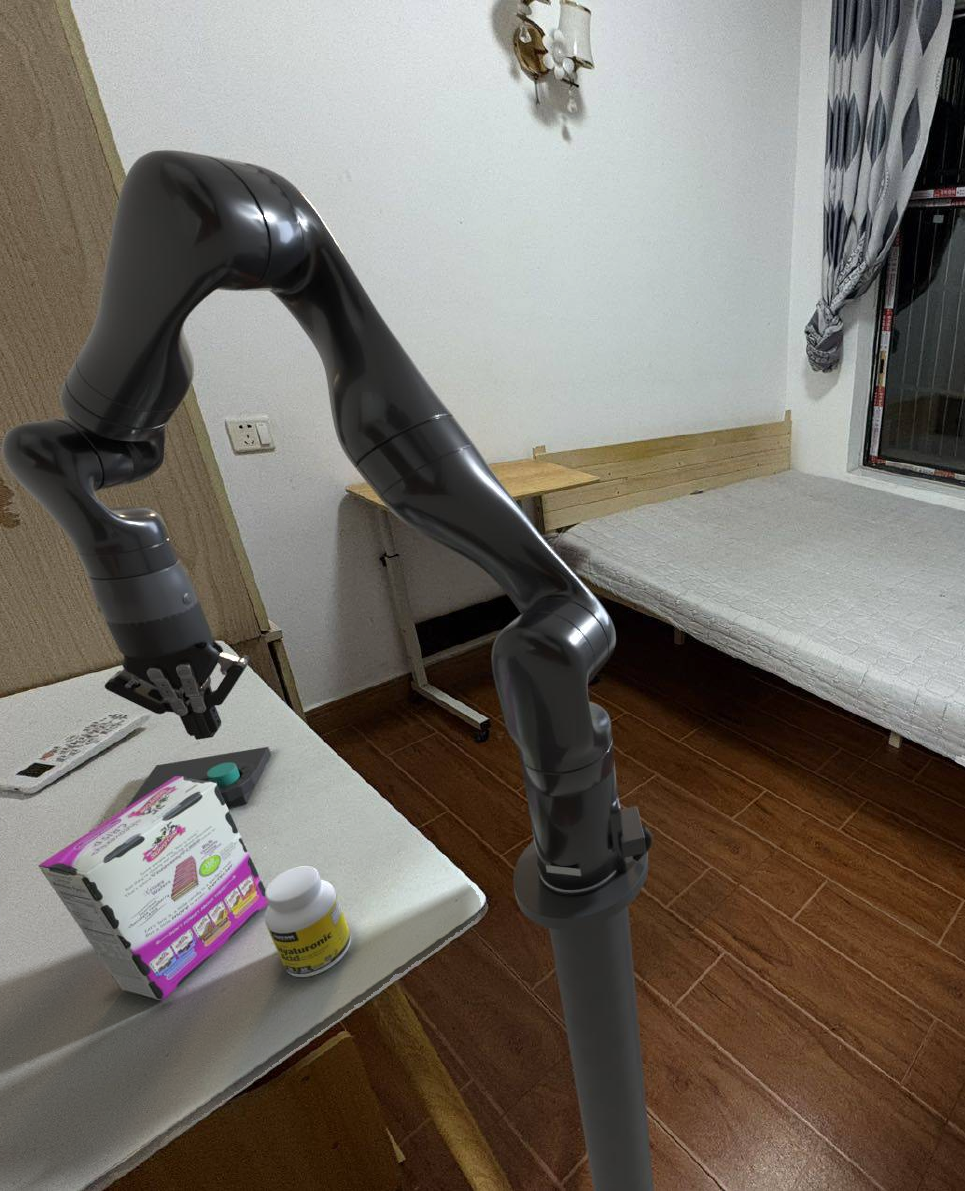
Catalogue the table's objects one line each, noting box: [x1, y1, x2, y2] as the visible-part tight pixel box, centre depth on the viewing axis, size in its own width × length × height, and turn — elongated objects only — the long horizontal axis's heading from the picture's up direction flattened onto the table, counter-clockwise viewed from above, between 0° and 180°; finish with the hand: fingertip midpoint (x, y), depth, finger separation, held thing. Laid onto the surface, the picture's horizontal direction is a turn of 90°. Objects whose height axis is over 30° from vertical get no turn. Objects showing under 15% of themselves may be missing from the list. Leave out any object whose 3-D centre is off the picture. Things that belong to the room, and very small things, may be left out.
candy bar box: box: [38, 776, 268, 1001], centre depth 60 cm, size 11×5×16 cm, turn 170°
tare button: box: [207, 762, 240, 788], centre depth 80 cm, size 3×3×2 cm
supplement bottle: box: [264, 865, 352, 978], centre depth 61 cm, size 5×5×10 cm
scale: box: [124, 746, 272, 809], centre depth 81 cm, size 13×11×3 cm
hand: (207, 734), depth 77 cm, fingers closed
